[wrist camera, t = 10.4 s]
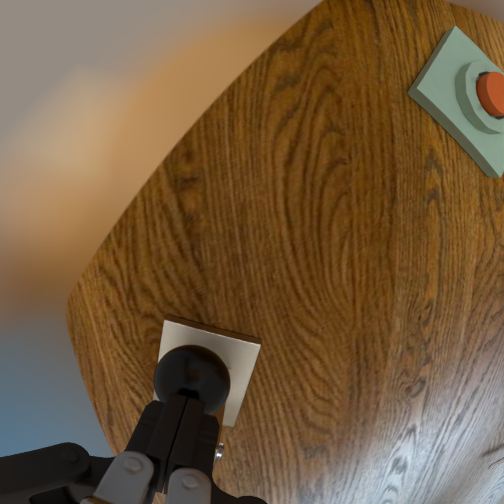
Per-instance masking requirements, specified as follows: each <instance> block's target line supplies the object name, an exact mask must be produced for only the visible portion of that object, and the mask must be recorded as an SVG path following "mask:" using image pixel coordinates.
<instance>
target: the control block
mask: <svg viewBox="0 0 504 504" xmlns="http://www.w3.org/2000/svg"><path fill="white" fill-rule="evenodd" d="M491 72H499V73H501V74H503V75H504V73H503V72H502V71H501V70H500V69H499V68H498V66H496V65H494V64H493V63H492V62H491V61H490V60H489V58H488V57H487V56H486V55H485V54H484V53H483V52H482V51H481V50H480V49H479V48H478V47H477V46H476V45H475V44H474V43H473V42H472V41H471V40H470V39H469V38H468V37H467V36H466V35H465V34H464V33H463V32H462V31H461V30H460V29H459V28H458V27H457V26H454V27H452V28H451V29H449V30H448V31H447V32H445V34H444V35H443V37H442V39H441V40H440V42H439V43H438V45H437V47H436V48H435V50H434V51H433V53H432V55H431V56H430V58H429V59H428V61H427V63H426V64H425V66H424V67H423V69H422V70H421V72H420V73H419V75H418V77H417V78H416V80H415V81H414V83H413V84H412V86H411V87H410V89H409V90H408V92H407V94H408V95H409V96H410V97H411V98H412V99H413V100H415V101H416V102H417V103H418V104H419V105H420V106H421V107H422V108H423V109H424V110H426V111H427V112H428V113H429V114H430V115H431V116H432V117H433V118H434V119H435V120H436V121H437V122H438V123H439V124H440V125H441V126H442V127H443V128H444V129H445V130H446V131H447V132H448V133H449V134H450V135H451V136H452V137H453V138H454V139H455V140H456V141H457V142H458V143H459V145H460V146H461V147H462V148H463V149H464V150H465V151H466V152H467V153H468V154H469V156H470V157H471V158H472V159H473V160H474V161H475V162H476V164H477V165H478V166H479V167H480V168H481V169H482V171H483V172H484V173H485V174H486V175H487V177H495V178H501V176H502V174H503V172H504V116H499V117H495V116H492V115H490V114H489V113H487V112H486V111H485V110H484V108H483V107H482V105H481V104H480V102H479V99H478V97H477V92H476V83H477V80H478V79H479V78H480V77H481V76H483V75H485V74H488V73H491Z"/></svg>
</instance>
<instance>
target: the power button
mask: <svg viewBox="0 0 504 504" xmlns="http://www.w3.org/2000/svg"><path fill="white" fill-rule="evenodd" d="M476 92H477V97H478V99H479V102H480V104H481V105H482V107H483V108H484V110H485V111H486V112H487V113H489V114H490V115H492V116H495V117H499V116H504V75H503V74H501V73H499V72H491V73H488V74H485V75H483V76H481V77H480V78H479V79H478V80H477V83H476Z"/></svg>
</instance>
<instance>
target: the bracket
mask: <svg viewBox="0 0 504 504" xmlns="http://www.w3.org/2000/svg"><path fill="white" fill-rule="evenodd" d="M182 345H199V346H203V347H206V348H208V349H210V350H212V351H213V352H215V353H216V354H217V355H218V356H219V357H220V358H221V359H222V360H223V361H224V363H225V365H226V366H227V368H228V371H229V374H230V380H231V387H230V392H229V396H228V398H227V400H226V402H225V403H224V405H223V406H222V407H221V408H220V409H219V410H218V411H217V412H216V413H214V414H212V416H216V418H217V420H218V423H219V425H220V428H219V434H218V440H217V446H216V452H215V458H214V462H215V459H216V460H221V457H222V453H223V449H224V444H222V443H220V437H221V431H222V425H226V426H231V427H234V425H235V422H236V419H237V416H238V413H239V410H240V407H241V404H242V401H243V398H244V395H245V392H246V389H247V386H248V384H249V380H250V377H251V374H252V371H253V368H254V365H255V362H256V359H257V356H258V353H259V350H260V347H261V339H259V338H255V337H251V336H246V335H242V334H238V333H234V332H230V331H226V330H223V329H219V328H215V327H211V326H207V325H204V324H200V323H196V322H193V321H189V320H186V319H182V318H178V317H175V316H172V315H167V316H166V318H165V319H164V325H163V331H162V337H161V344H160V351H159V358H158V362H159V361H160V359H161V358H162V357H163V356H164V355H165V354H166V353H167V352H169V351H170V350H172V349H174V348H176V347H179V346H182ZM153 400H157V401H159V399H158V397H157V395H156V393H155V389H154V395H153ZM213 465H214V464H213Z"/></svg>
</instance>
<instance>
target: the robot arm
mask: <svg viewBox="0 0 504 504" xmlns="http://www.w3.org/2000/svg"><path fill="white" fill-rule="evenodd" d="M186 403H187V404H186ZM205 404H206V401H202V400H198V399H194V398H191V397H189V398H188V401H187V396H183V395H180V394H176V393H173V392H170V393H169V395H168V398H167V400H166V403H164V402H161V401H157V400H153V401H152V402H151V403H149V404H148V405H146V407H145V409H144V411H143V413H142V416H141V417H140V419H139V422H138V424H137V426H136V428H135V430H134V432H133V434H132V436H131V439H130V441H129V443H128V445H127V447H126V449H125V450H124V452H122V453H120V454H118V455H117V456H115V457H111V458H103V457H95V456H89V454H88V452H87V451H86V450H85V449H84V448H83V447H81V446H80V445H78V444H75V443H69V442H68V443H61V444H57V445H53V446H49V447H45V448H41V449H37V450H33V451H29V452H24V453H19V454H15V455H10V456H5V457H0V504H152V502H153V499H154V496H155V492H160V493H162V491H163V487H164V484H165V487H164V494H167V496H166V502H165V504H267V503H266V502H265V501H264V500H262V499H260V498H258V497H254V496H242V497H239V498H236V497H234V496H232V495H229V494H227V493H225V492H223V491H222V490H221V489H219V488H218V487H217V486H216V484H215V483H214V481H213V478H212V470H213V464H214V458H215V452H216V446H217V440H218V434H219V428H220V425H219V423H218V420H217V418H216V416H212V415H208V414H204V409H205Z"/></svg>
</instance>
